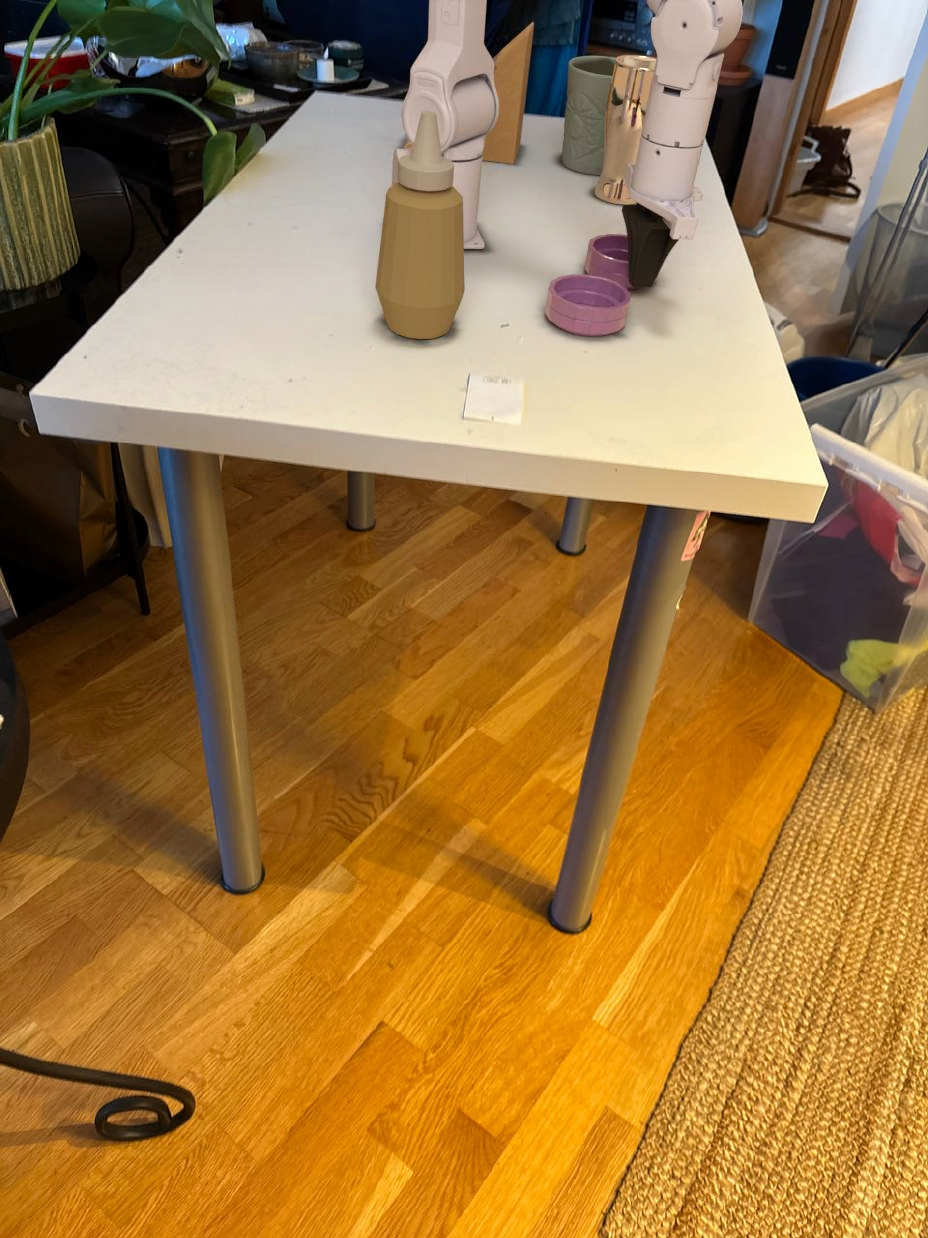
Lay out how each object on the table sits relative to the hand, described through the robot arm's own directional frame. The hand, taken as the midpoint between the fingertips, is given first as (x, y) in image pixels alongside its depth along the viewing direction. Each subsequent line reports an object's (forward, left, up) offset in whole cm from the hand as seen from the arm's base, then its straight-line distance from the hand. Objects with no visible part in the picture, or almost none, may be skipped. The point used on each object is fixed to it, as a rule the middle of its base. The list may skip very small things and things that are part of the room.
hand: (640, 284), depth 92 cm
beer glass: (+8, +30, -2) cm, 31 cm away
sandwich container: (-9, +48, -2) cm, 49 cm away
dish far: (0, +6, -2) cm, 6 cm away
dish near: (-7, -5, -2) cm, 9 cm away
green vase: (+8, +42, -2) cm, 43 cm away
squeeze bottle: (-23, -6, -2) cm, 24 cm away
